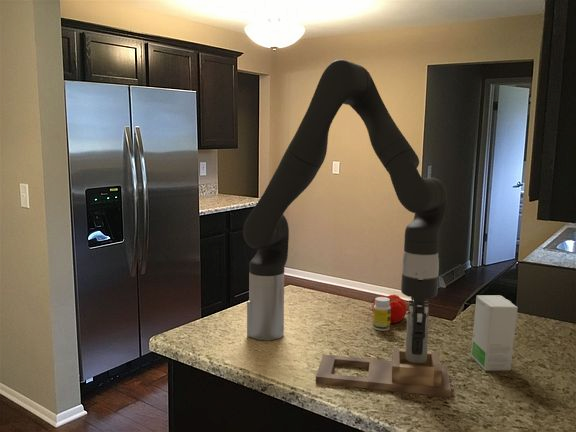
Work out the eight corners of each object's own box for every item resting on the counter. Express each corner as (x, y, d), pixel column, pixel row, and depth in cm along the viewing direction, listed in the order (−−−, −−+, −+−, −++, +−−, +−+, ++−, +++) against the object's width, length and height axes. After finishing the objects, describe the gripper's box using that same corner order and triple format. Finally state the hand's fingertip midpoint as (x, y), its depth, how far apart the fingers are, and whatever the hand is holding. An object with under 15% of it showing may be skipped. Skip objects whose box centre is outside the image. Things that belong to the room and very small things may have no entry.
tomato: (370, 324, 150) (371, 302, 149) (373, 312, 160) (374, 291, 159) (406, 327, 148) (407, 304, 147) (406, 314, 158) (407, 293, 157)
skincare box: (470, 356, 128) (474, 294, 126) (496, 356, 128) (501, 294, 126) (485, 371, 120) (490, 305, 117) (513, 371, 120) (518, 305, 118)
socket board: (315, 383, 113) (316, 361, 112) (323, 360, 125) (323, 340, 124) (451, 397, 108) (452, 373, 107) (445, 371, 119) (446, 350, 119)
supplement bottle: (389, 331, 144) (391, 302, 143) (372, 330, 145) (373, 300, 143) (390, 325, 148) (391, 297, 147) (373, 324, 149) (374, 295, 148)
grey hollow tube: (402, 355, 116) (404, 310, 115) (422, 354, 117) (424, 309, 115) (409, 363, 112) (411, 317, 110) (429, 363, 112) (432, 316, 111)
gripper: (401, 263, 119) (398, 335, 122) (402, 280, 105) (398, 361, 108) (435, 265, 118) (432, 338, 120) (441, 282, 104) (436, 364, 106)
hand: (416, 348), depth 114 cm, fingers closed on grey hollow tube, 4 cm apart
